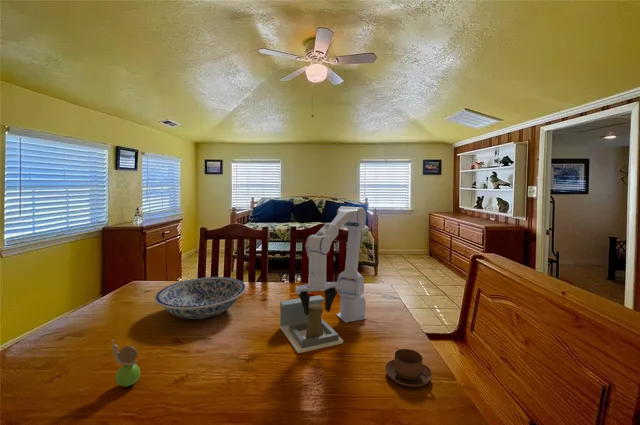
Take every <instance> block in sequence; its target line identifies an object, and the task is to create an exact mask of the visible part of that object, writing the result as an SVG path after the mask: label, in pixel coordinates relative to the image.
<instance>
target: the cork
mask: <svg viewBox="0 0 640 425" xmlns="http://www.w3.org/2000/svg"><path fill="white" fill-rule="evenodd" d="M308 315H309V317H308V324H307V331H306V339H308V338H313V337H318V336H323V329H322V321H321V319H322V315H323V307H322V305H321V306H320V305H317V304H312V305H310V306H309V314H308Z"/></svg>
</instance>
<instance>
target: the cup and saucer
mask: <svg viewBox="0 0 640 425" xmlns="http://www.w3.org/2000/svg"><path fill="white" fill-rule="evenodd" d="M423 359H424V358H423V355H422V354H421V353H419V352H417V351H416V350H413V349H408V348H401V349H397V350H396V351H395V352H394V359H392V360H390V361H388V362H387V363H386V365H385V373H386V374H387V376H388V377H389V378H390V379H391V380H392V381H393V382H395V383H397V384H399V385H402V386H404V387H410V388H418V387H423V386H424V385H427V384H428V383H429V382H431V378H432V369H431V368H430V367H429V366H428V365H426V364H423Z"/></svg>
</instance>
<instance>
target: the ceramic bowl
mask: <svg viewBox="0 0 640 425" xmlns="http://www.w3.org/2000/svg"><path fill="white" fill-rule="evenodd" d="M246 289H247V286H246V284H245V282H243V281H242V280H241V279H240V280H239V279H237V278H233V277H226V276H206V277H198V278H192V279H186V280H182V281H178V282H176V283H172V284H169V285H167V286H166V287H163V288H161V289H160V290H159V291H158V292H157V293H155V296H154V302H155V304H156V305H158V306H160V307H162V308H164V310H166V311H167V312H168V313H170V314H171V315H173V316H176V317H178V318H181V319H187V320H201V319H207V318H212V317H215V316H218V315H220V314H222V313H224V312H226V311H228V309H230V308H231V307H232V306H233V305H234V304H235V303H236V302H237V301H238V299H239V297H241V296H243V294H244V293H245V292H246Z"/></svg>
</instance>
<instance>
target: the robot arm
mask: <svg viewBox="0 0 640 425" xmlns="http://www.w3.org/2000/svg"><path fill="white" fill-rule="evenodd" d="M366 212H367V211H366V209H365V208H364V207H361V206H360V207H356V206H344V205H343V206H342V205H341V206H340V207H338V209H337V211H336V216H334V218H333V220H332V221H331V222H325V223H324V225H323V226H322V227H321V228H320V229H319V230H318V231H317V232H316V233H315V234H311V235H309V236H308V237H307V238H306V241H305V246H304V247H305V250H306V255H307V258H308V283H305V284H302V285H298V286H295V293H296V294H297V295H298V297H299V298H300V299H301V302H302V305H303V309H304V313H305V315H308V314H309V299H310V297H311V296H310V295H309V293H311V292H319V291H320V292H322V291H323V292H324V299H325V301H324V304H325V305H324V308H325V309H324V310H325V311H327V312H328V313H329V312H330V311H331V307H332V304H333V302H334V300H335V297H336V296H337V295H339V296H340V312H338V313H336V316H337V317H338V318H340V320H342V321H343V322H344V323H350V322H357V321H360V320H366V319H367V317H366V305H367V304H366V298H365V296H364V295H363V294H364V290H365V284H364V276H363V275H362V274H361V273H360V272H359V271H358V269H359V261H360V260H359V257H360V248H361V238H362V237H361V236H362V230H364V229H365V228H366V222H367V221H366V220H367V213H366ZM342 227H345V228H346V229H347V231H348V236H347V244H346V246H347V247H346V253H345V254H346V256H345V264H344V271H341V272H340V273H339V274H338V277H337V281H327V261H328V260H327V254H328V253H329V252H330V249H331V246H332V244H333V241H334V240H335V239H336V238H337V237H338V236H339V230H340V229H341V228H342Z"/></svg>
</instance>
